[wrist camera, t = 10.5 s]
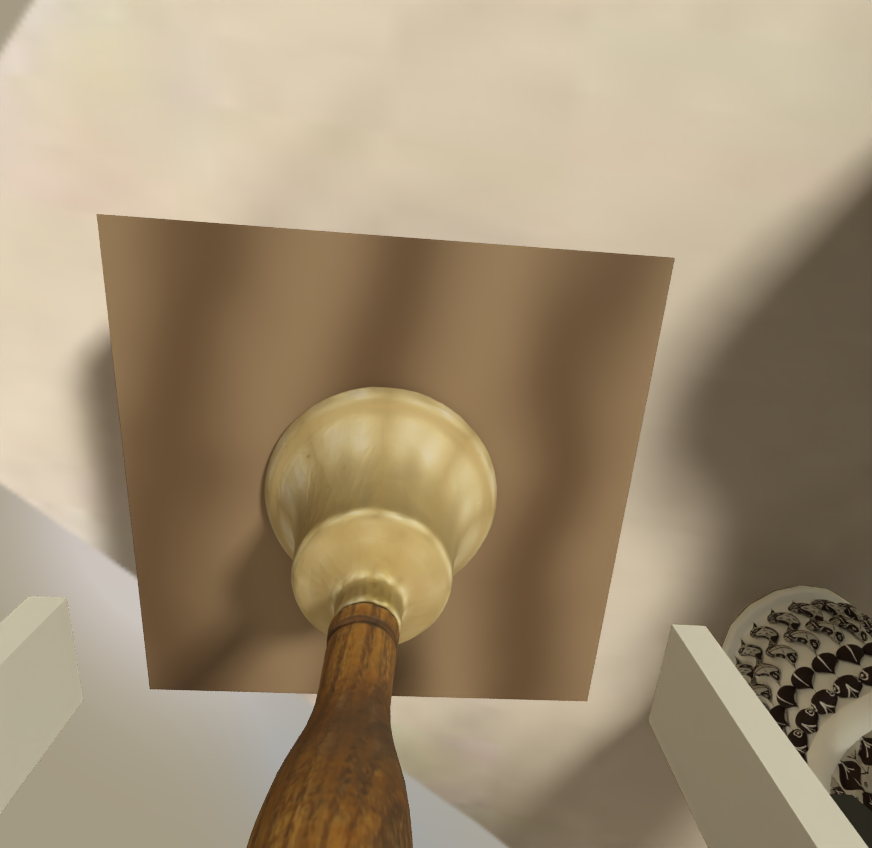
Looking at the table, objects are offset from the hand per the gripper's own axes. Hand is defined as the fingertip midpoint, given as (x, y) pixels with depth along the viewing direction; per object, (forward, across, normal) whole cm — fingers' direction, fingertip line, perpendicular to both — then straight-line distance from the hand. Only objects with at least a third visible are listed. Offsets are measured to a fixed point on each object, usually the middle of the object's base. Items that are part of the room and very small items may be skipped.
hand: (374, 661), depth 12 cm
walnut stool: (+17, 0, 0) cm, 17 cm away
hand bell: (+8, 0, 0) cm, 8 cm away
